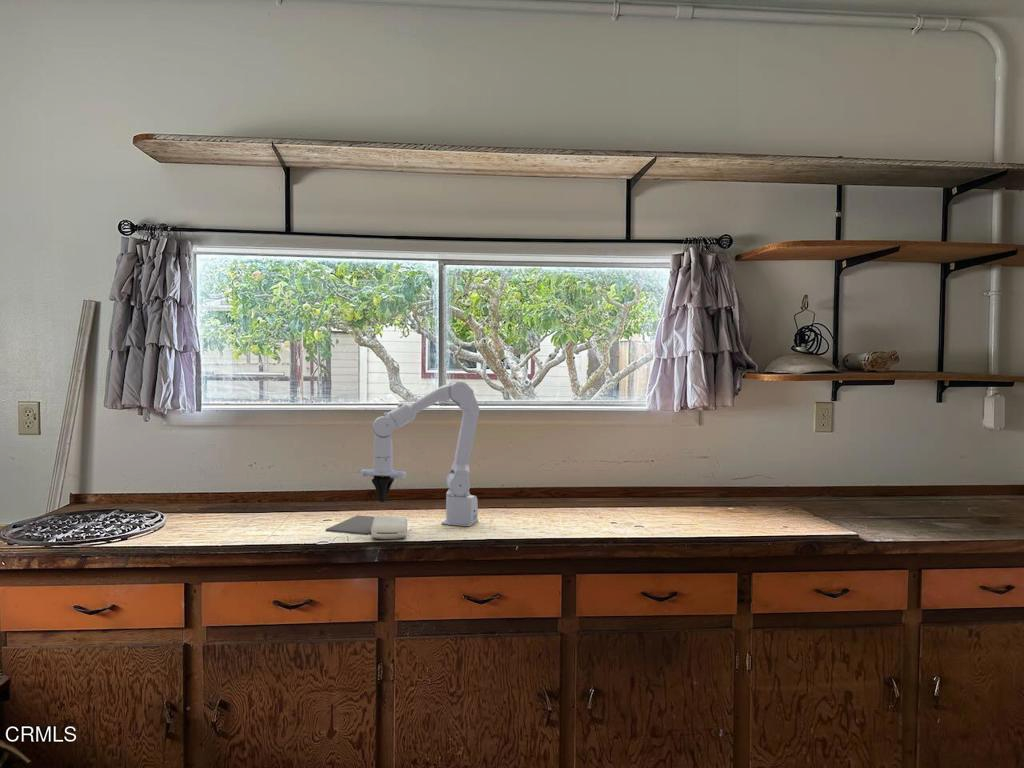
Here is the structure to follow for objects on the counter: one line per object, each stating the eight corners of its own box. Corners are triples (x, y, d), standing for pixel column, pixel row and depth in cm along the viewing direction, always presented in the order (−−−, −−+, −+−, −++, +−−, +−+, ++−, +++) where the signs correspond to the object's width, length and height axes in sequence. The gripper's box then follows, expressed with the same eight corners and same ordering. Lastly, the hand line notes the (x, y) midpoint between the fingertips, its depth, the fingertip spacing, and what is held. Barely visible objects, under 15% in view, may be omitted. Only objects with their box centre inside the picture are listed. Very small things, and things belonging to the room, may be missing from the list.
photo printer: (408, 514, 188) (407, 525, 176) (407, 529, 189) (406, 541, 176) (372, 514, 187) (369, 525, 175) (372, 529, 187) (369, 541, 175)
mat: (396, 520, 199) (396, 518, 199) (367, 534, 182) (367, 533, 182) (357, 516, 203) (357, 515, 203) (325, 530, 186) (325, 529, 186)
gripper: (354, 457, 188) (354, 502, 189) (398, 459, 184) (398, 505, 185) (366, 454, 195) (366, 497, 196) (409, 456, 191) (409, 500, 191)
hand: (383, 501), depth 191 cm, fingers closed
